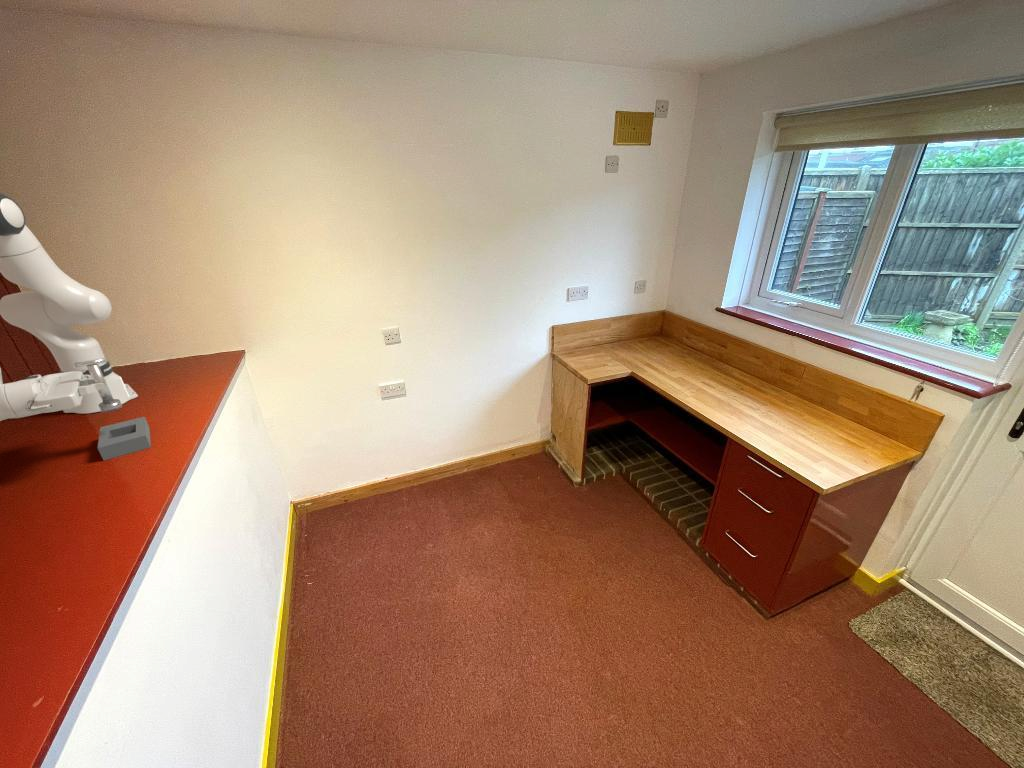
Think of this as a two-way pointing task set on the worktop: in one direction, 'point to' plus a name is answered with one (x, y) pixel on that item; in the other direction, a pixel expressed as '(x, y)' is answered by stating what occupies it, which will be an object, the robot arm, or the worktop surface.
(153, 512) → the worktop surface
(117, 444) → the grey block with hole
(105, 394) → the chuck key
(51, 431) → the worktop surface
